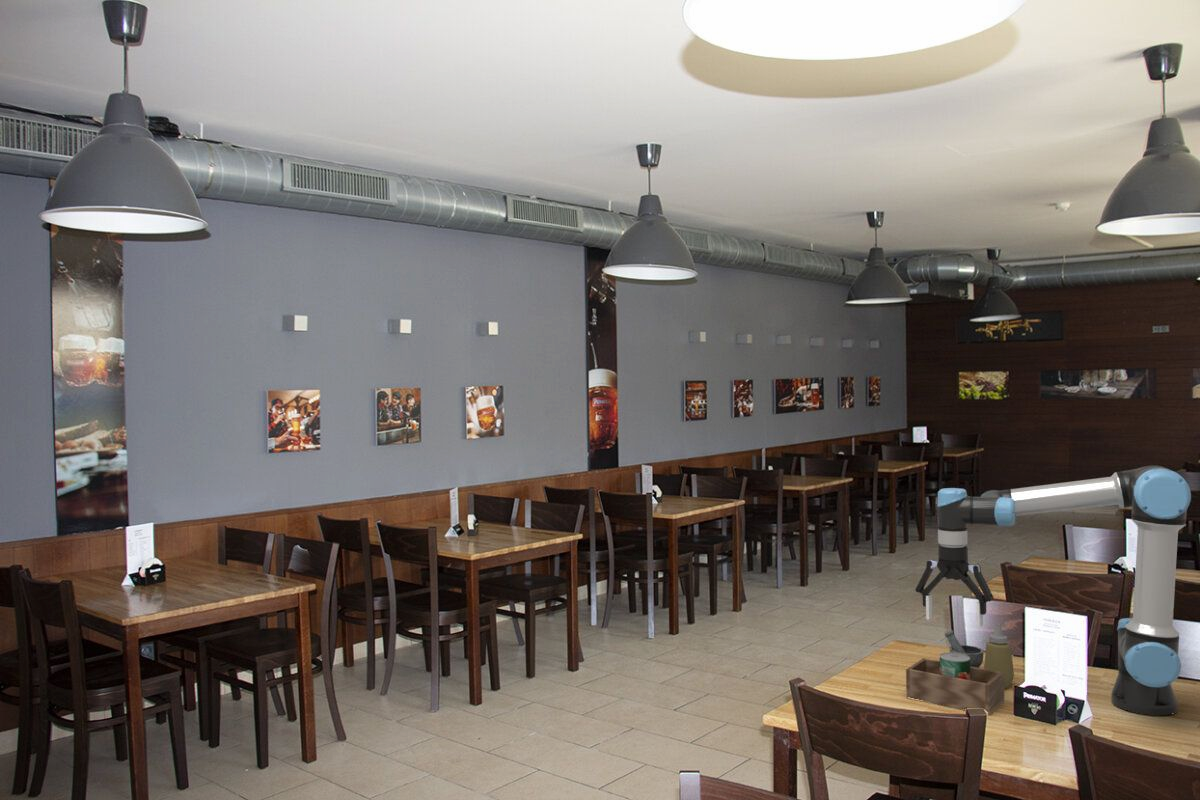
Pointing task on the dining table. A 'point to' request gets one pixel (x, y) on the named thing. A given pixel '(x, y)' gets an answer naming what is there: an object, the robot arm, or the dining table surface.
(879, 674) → the dining table surface
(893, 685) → the dining table surface
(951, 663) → the canned tomato
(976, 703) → the wooden box
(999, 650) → the squeeze bottle
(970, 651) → the mortar and pestle
